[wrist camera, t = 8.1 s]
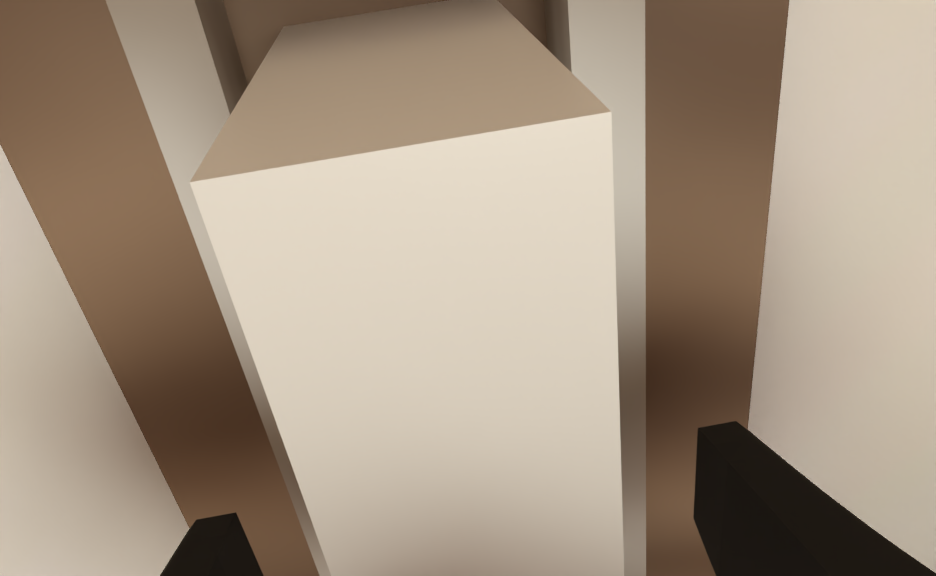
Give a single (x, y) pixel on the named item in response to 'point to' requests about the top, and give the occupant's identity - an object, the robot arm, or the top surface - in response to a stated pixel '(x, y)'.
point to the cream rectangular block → (430, 290)
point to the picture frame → (208, 299)
